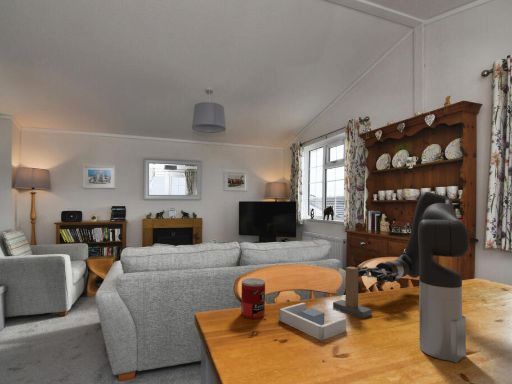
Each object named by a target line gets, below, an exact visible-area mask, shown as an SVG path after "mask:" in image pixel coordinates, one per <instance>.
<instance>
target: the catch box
mask: <svg viewBox="0 0 512 384" xmlns="http://www.w3.org/2000/svg"><path fill="white" fill-rule="evenodd" d="M306 304H307V303H306V302H301V303H296V304H293V305H289V306H285V307H282V308H279V309H278V310H279V311H278V312H279V313H278V314H279V316H278V317H279V318H278V321H280V322H281V323H284V324H286V325H288V326H291V327H292V328H295V329H297V330H299V331H300V332H303V333H305V334H306V335H309V336H311V337H313V338H315V339H316V340H319V341H321V342H322V341H324V340H327V339H330V338H332V337H335V336H337V335H339V334H341V333H344V332H346V331H347V318H345V317H341V318H339V319H336V320H333V321H329V322H327V323H324V325H319V324H317V323H314V322H312V321H310V320H307V319H305V318H303V317H301V311H304V310H307V308H306Z"/></svg>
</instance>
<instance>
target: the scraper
mask: <svg viewBox="0 0 512 384" xmlns="http://www.w3.org/2000/svg"><path fill="white" fill-rule="evenodd" d="M358 268H359V267H354V266H346V267H345V300H344V299H340V300H336V301H333V302H332V308H333V309H335V310H338V311H341V312H343V313H346V314H349V315H351V316H352V315H353V316H355V317H358V318H360V319H366V318H369V317H370V316H373V315H372V313H373V309H372V308H369V307H366V306H363V305H359V277H358Z"/></svg>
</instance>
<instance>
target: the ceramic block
mask: <svg viewBox="0 0 512 384" xmlns="http://www.w3.org/2000/svg"><path fill="white" fill-rule="evenodd" d="M300 317H303V318H305V319H307V320H310V321H312V322H314V323H317V324H319V325H324V324H325V312H324V311H321V310H318V309H316V308H313V307H311V308H308V309H307V308H306V310H304V311H301V315H300Z"/></svg>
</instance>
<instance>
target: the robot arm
mask: <svg viewBox="0 0 512 384" xmlns="http://www.w3.org/2000/svg"><path fill="white" fill-rule="evenodd" d="M453 208H454V206H453V200H452V198H451V197H449V196H447V195H443V194H439V193H435V192H430V191H423V192H422V193H421V194H420V196H419V198H418V200H417V203H416V208H415V211H414V215H413V221H412V225H411V231H410V235H409V239H408V241H407V245H406V246H405V251H404V252H405V254H401V255H399V256H398V257H397V258H396V259H395V260H387V261H383V262H379V263H378V264H377V265H376V266H373V267H368V266H362V267H361V266H360V267H357V268H358V278H360V277H367V278H375V279H376V282H377V283H381V282H382V283H395V282H397V281H399V279H400V278H404V277H406V276H408V277H410V278H412V279H417V278H418V280H419V284H418V285H419V286H418V288H419V293H418V294H419V295H418V296H419V299H418V300H419V313H418V314H419V319H418V320H419V325H418V326H419V337H418V338H419V349H420V350H421V351H422V353H425V354H427V355H428V356H431V357H433V358H436V359H438V360H443V361H449V362H453V363H456V364H457V363H459V362H460V361H461V360H462V359H464V358H465V357H466V356H467V347H466V346H467V339H466V338H467V336H466V333H467V332H466V327H467V326H466V323H467V322H466V321H467V320H466V316H465V315H463V278H462V277H463V276H462V275H461V273H459V272H458V271H455V270H453V269H451V268H449V267H448V268H447V267H446V266H443V265H442V264H440V263H438V262H437V261H436V260H435V259H434V257H435V256H436V257H445V258H447V257H449V258H460V257H463V256H465V255H466V254H467V252H468V251H469V248H470V236H469V231H468V228H467V226H466V225H465V224H464V222H463V221H462V220H460V219H459V218H458V215H457V214H456V211H455V210H454V209H453Z"/></svg>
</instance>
